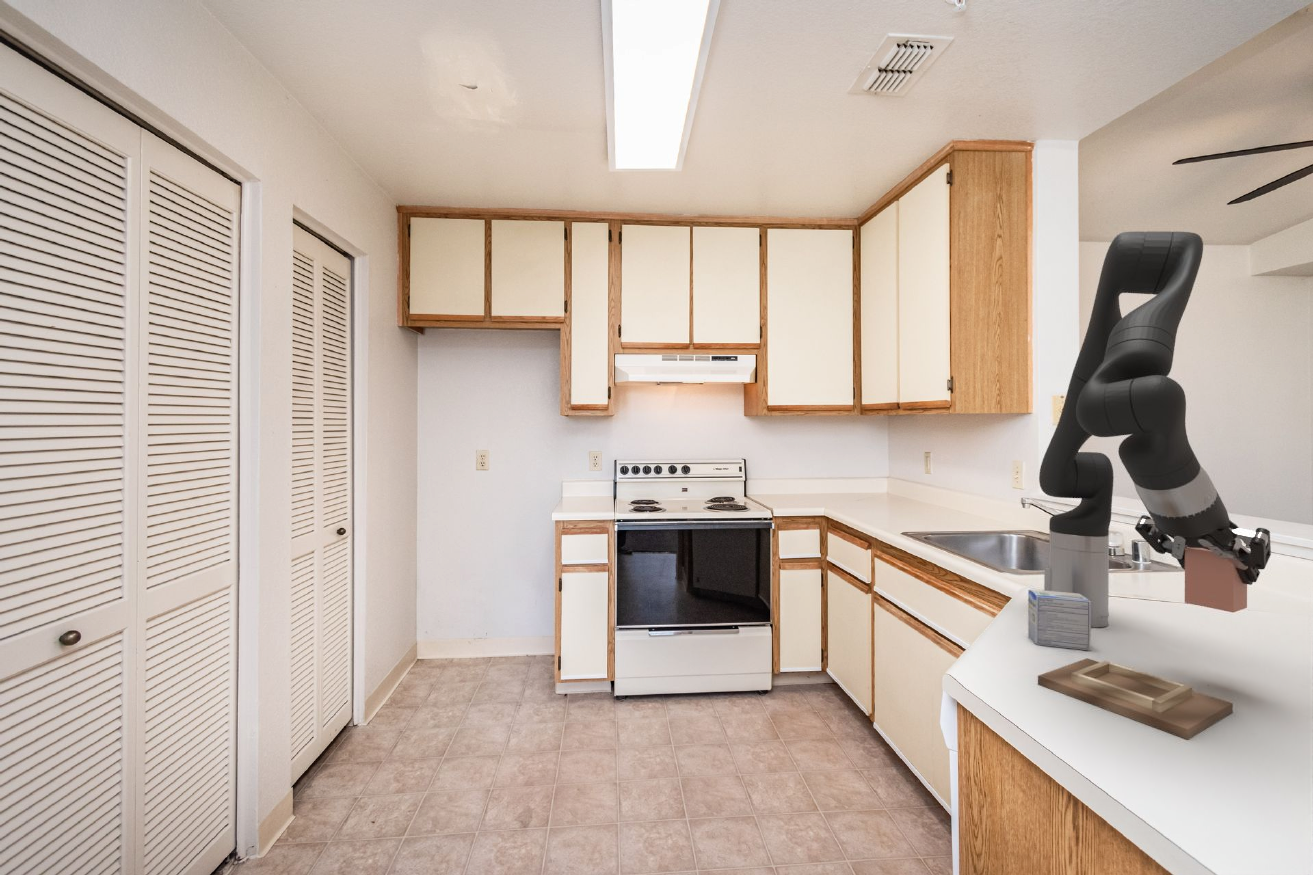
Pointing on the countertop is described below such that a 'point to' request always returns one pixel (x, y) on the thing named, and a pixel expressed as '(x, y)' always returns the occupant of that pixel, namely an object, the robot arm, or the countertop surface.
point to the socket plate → (1138, 696)
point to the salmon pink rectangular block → (1213, 581)
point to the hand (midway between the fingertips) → (1221, 574)
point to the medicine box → (1059, 619)
